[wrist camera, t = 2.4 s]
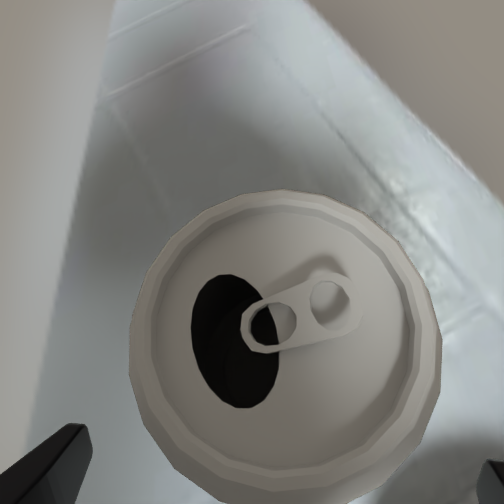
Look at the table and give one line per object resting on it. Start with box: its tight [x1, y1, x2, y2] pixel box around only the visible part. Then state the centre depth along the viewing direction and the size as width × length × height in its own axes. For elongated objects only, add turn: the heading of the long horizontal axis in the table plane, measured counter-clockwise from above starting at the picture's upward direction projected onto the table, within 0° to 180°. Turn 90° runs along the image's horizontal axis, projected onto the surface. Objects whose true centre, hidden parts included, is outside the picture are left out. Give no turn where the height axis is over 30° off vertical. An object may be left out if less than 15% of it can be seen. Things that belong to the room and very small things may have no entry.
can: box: [129, 189, 442, 504], centre depth 13 cm, size 8×8×12 cm
